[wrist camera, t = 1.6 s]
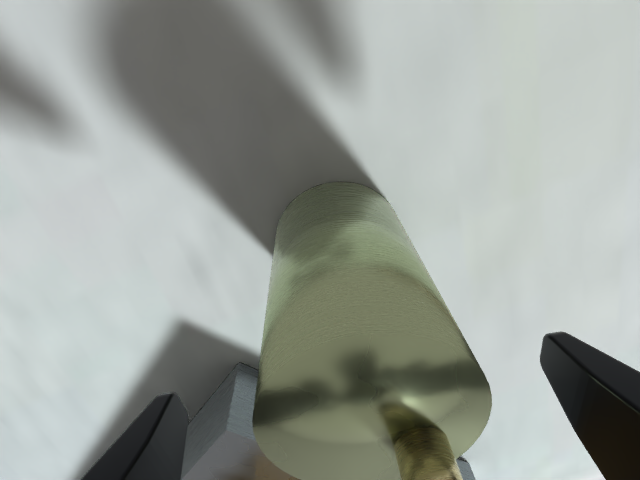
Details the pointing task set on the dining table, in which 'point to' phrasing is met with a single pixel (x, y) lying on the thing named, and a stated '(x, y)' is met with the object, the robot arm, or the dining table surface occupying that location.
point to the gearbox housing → (236, 436)
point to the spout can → (361, 350)
